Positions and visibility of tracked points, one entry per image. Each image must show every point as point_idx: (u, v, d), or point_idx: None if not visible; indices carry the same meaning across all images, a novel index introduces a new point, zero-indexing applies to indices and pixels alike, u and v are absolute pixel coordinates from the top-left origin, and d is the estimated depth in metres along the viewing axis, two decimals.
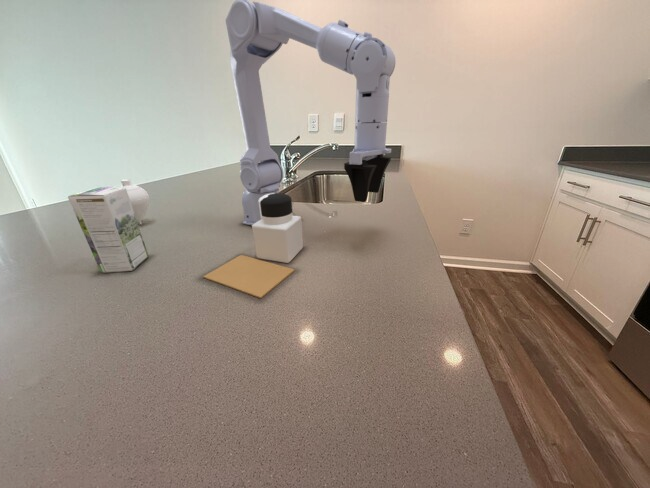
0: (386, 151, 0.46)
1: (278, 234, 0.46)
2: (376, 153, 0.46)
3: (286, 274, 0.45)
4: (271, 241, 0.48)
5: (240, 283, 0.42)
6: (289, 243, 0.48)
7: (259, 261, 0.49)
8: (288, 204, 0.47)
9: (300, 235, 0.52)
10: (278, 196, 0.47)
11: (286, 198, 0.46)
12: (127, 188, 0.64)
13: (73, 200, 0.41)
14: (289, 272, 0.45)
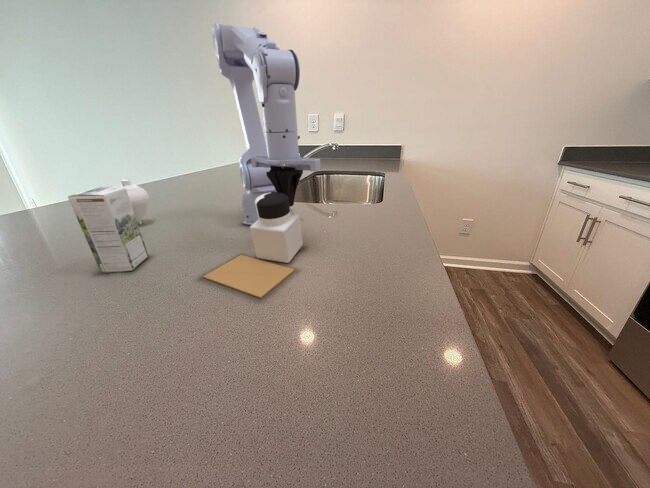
0: (267, 162, 0.45)
1: (276, 235, 0.46)
2: (264, 161, 0.47)
3: (286, 274, 0.45)
4: (269, 242, 0.47)
5: (240, 283, 0.42)
6: (288, 244, 0.47)
7: (259, 261, 0.49)
8: (286, 205, 0.46)
9: (299, 233, 0.51)
10: (274, 197, 0.45)
11: (283, 199, 0.45)
12: (127, 188, 0.64)
13: (73, 200, 0.41)
14: (289, 272, 0.45)
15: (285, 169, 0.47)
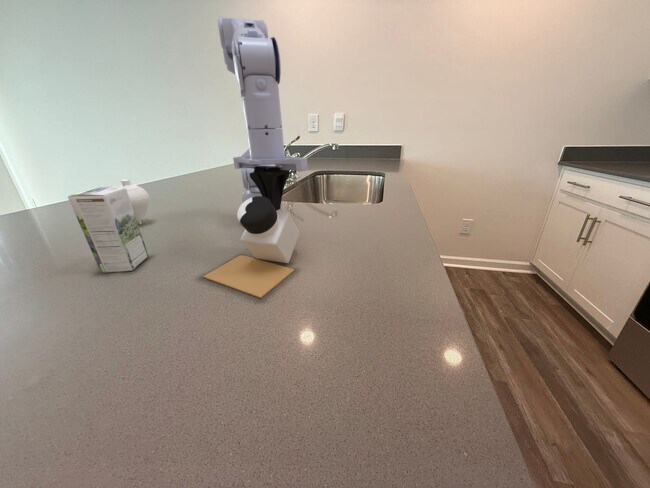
0: None
1: (270, 247, 0.44)
2: (247, 162, 0.43)
3: (286, 274, 0.45)
4: (264, 250, 0.46)
5: (240, 283, 0.42)
6: (284, 249, 0.46)
7: (259, 261, 0.49)
8: (271, 216, 0.41)
9: (293, 228, 0.48)
10: (257, 210, 0.41)
11: (267, 211, 0.41)
12: (127, 188, 0.64)
13: (73, 200, 0.41)
14: (289, 272, 0.45)
15: (269, 169, 0.43)
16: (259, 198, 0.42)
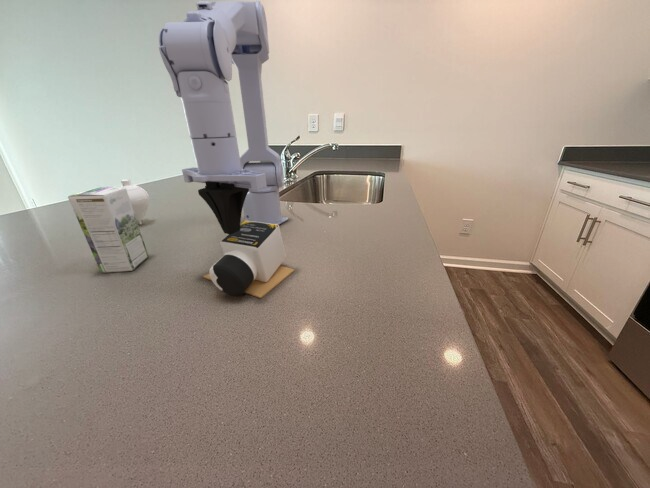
0: None
1: None
2: None
3: (286, 274, 0.45)
4: None
5: None
6: (276, 264, 0.44)
7: None
8: (246, 283, 0.38)
9: (270, 241, 0.41)
10: (230, 288, 0.38)
11: (240, 287, 0.37)
12: (127, 188, 0.64)
13: (73, 200, 0.41)
14: (289, 272, 0.45)
15: (222, 186, 0.36)
16: (221, 274, 0.36)
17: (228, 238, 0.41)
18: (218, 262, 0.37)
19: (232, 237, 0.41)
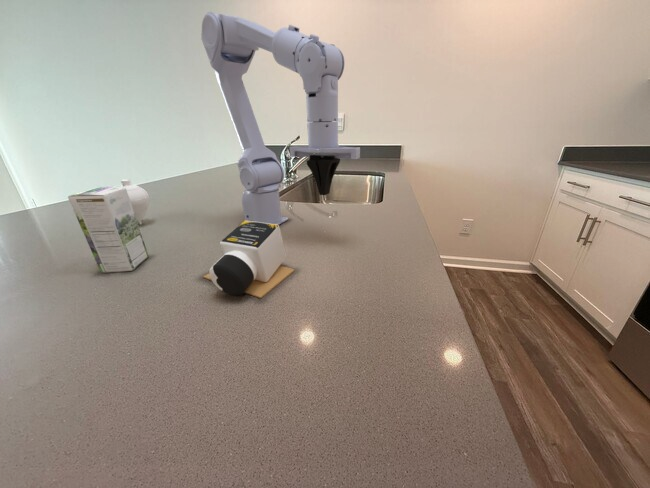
0: (309, 150, 0.48)
1: None
2: (305, 150, 0.49)
3: (286, 274, 0.45)
4: None
5: None
6: (276, 264, 0.44)
7: None
8: (246, 283, 0.38)
9: (270, 241, 0.41)
10: (230, 288, 0.38)
11: (240, 287, 0.37)
12: (127, 188, 0.64)
13: (73, 200, 0.41)
14: (289, 272, 0.45)
15: (325, 158, 0.50)
16: (221, 274, 0.36)
17: (228, 238, 0.41)
18: (218, 262, 0.37)
19: (232, 237, 0.41)
